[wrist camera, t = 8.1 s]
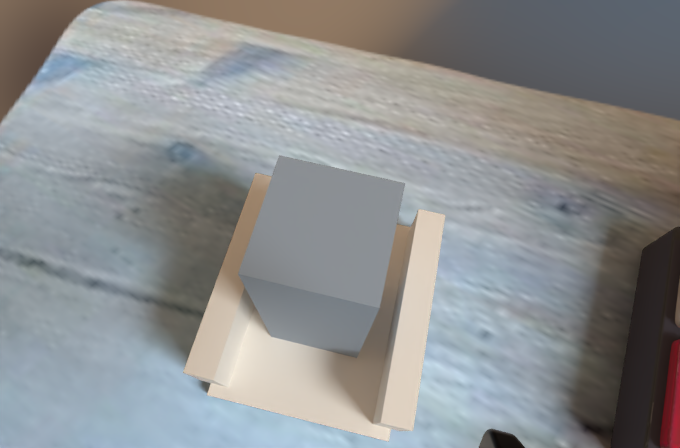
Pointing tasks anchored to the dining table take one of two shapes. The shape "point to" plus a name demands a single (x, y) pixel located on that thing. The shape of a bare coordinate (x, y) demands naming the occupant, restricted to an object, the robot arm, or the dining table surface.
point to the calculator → (653, 353)
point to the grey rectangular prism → (321, 254)
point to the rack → (316, 364)
